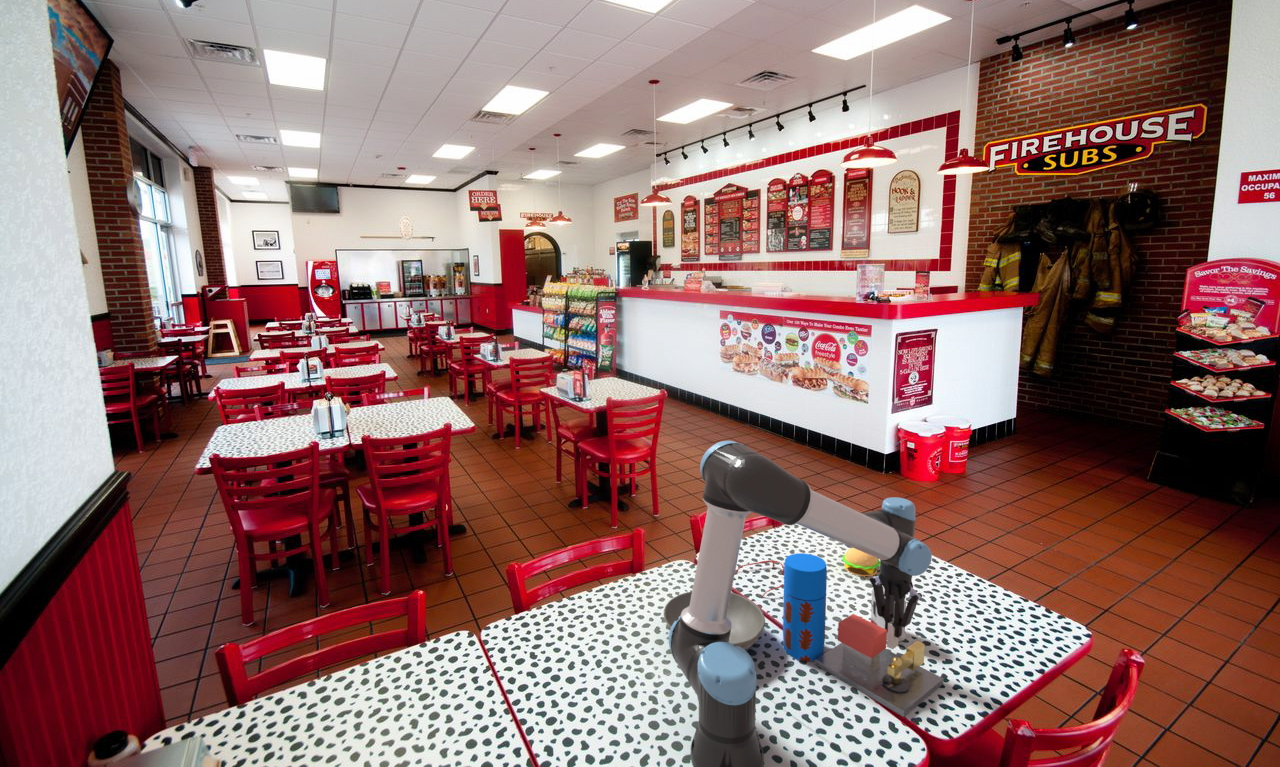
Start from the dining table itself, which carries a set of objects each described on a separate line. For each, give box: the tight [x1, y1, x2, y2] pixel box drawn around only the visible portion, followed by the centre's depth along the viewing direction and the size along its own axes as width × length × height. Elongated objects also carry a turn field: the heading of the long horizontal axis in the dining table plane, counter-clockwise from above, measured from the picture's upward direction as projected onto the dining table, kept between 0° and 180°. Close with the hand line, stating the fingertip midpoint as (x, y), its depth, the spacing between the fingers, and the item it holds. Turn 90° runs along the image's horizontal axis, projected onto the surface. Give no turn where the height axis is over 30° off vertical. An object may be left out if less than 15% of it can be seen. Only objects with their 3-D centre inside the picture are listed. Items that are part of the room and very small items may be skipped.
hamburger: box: [842, 547, 880, 578], centre depth 199 cm, size 12×12×9 cm
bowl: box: [663, 590, 766, 651], centre depth 162 cm, size 27×28×8 cm
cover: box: [837, 613, 887, 658], centre depth 149 cm, size 6×10×5 cm
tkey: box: [887, 640, 926, 684], centre depth 143 cm, size 14×2×6 cm, turn 127°
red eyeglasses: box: [735, 559, 784, 598], centre depth 192 cm, size 17×16×5 cm
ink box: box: [870, 587, 907, 642], centre depth 164 cm, size 8×5×12 cm, turn 17°
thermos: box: [782, 552, 828, 662], centre depth 156 cm, size 11×11×25 cm
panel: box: [814, 642, 945, 718], centre depth 147 cm, size 18×24×6 cm
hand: (892, 645), depth 151 cm, fingers closed
